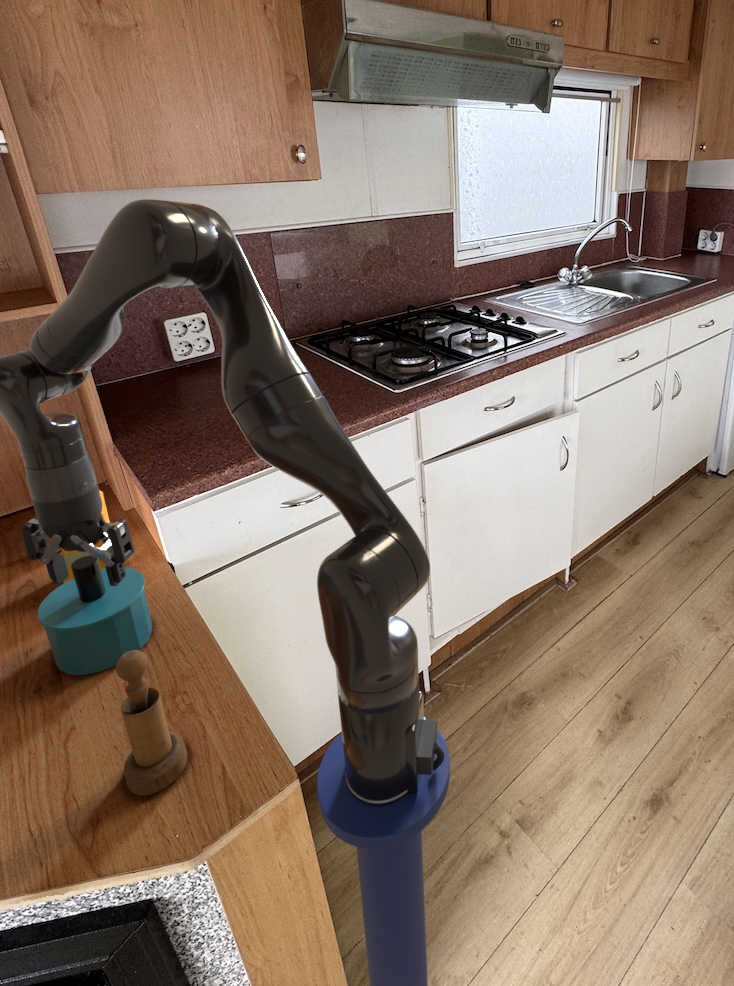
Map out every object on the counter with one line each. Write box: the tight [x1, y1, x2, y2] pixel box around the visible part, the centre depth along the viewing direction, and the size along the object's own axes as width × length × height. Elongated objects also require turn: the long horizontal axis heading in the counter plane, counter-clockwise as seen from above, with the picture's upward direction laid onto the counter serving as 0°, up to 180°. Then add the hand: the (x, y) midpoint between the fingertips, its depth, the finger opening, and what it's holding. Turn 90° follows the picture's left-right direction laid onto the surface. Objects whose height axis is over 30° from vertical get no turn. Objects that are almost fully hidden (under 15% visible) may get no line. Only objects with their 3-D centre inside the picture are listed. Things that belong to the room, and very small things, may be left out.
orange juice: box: [60, 489, 112, 584], centre depth 101 cm, size 8×9×20 cm
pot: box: [44, 589, 153, 676], centre depth 89 cm, size 13×13×8 cm
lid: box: [37, 556, 146, 631], centre depth 86 cm, size 13×13×7 cm
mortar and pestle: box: [115, 650, 188, 797], centre depth 68 cm, size 7×6×18 cm
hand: (89, 581), depth 86 cm, fingers open, 8 cm apart
